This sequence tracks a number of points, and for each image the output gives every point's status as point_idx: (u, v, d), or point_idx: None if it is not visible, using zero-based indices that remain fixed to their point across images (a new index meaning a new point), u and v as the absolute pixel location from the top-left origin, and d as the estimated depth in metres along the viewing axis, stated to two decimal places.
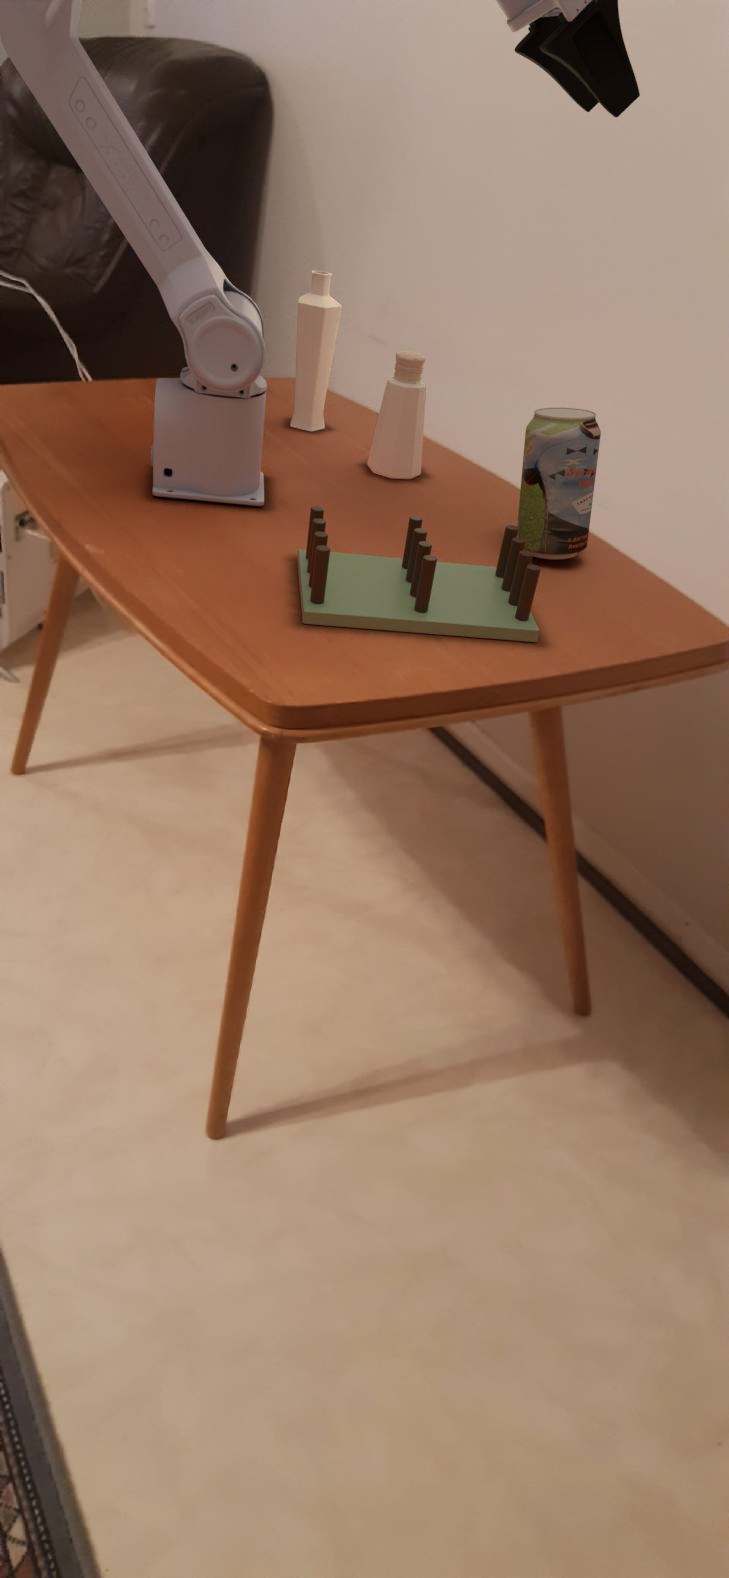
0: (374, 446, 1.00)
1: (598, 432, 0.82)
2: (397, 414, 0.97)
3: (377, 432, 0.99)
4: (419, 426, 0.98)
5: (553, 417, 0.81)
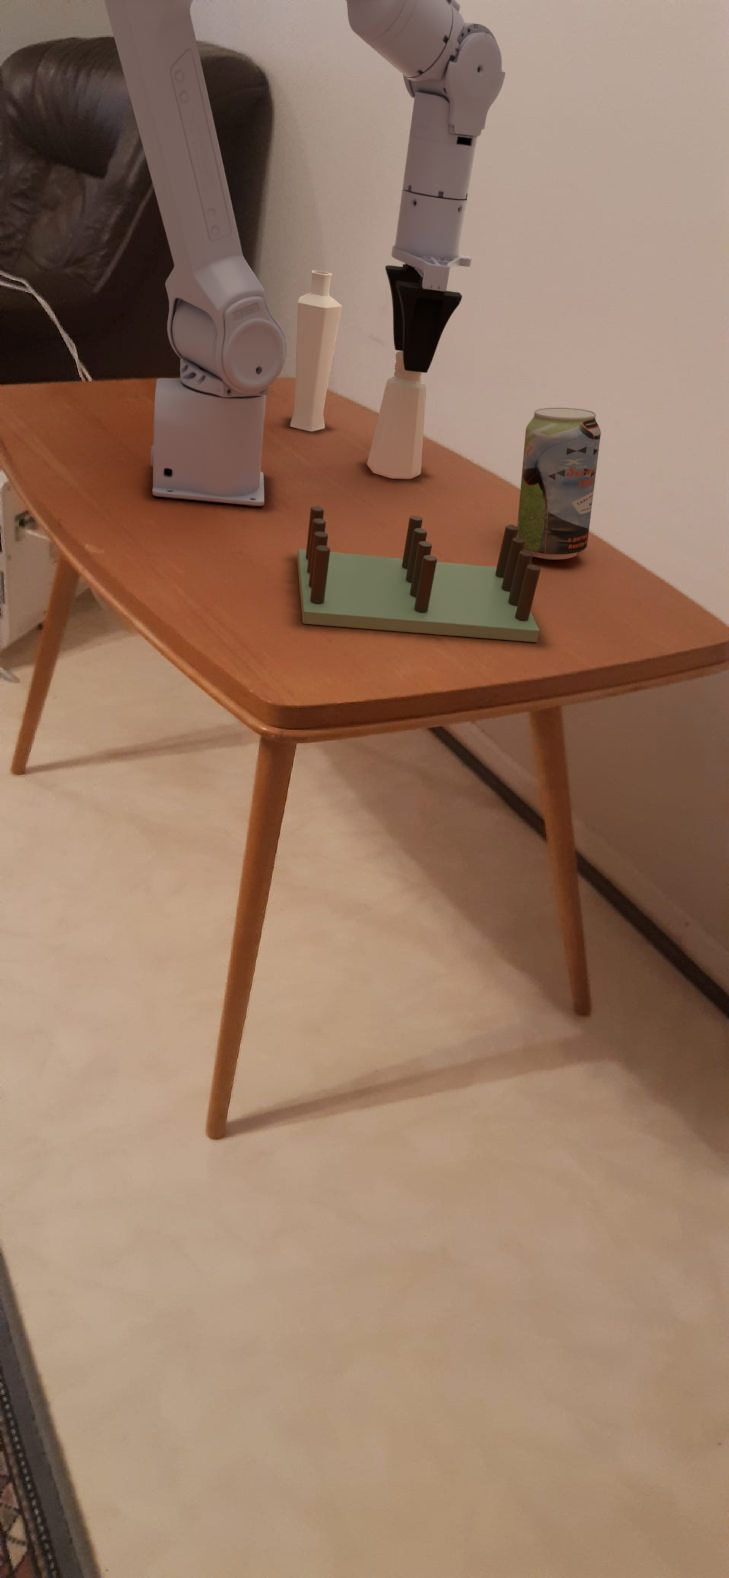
0: (374, 446, 1.00)
1: (598, 432, 0.82)
2: (397, 414, 0.97)
3: (377, 432, 0.99)
4: (419, 426, 0.98)
5: (553, 417, 0.81)
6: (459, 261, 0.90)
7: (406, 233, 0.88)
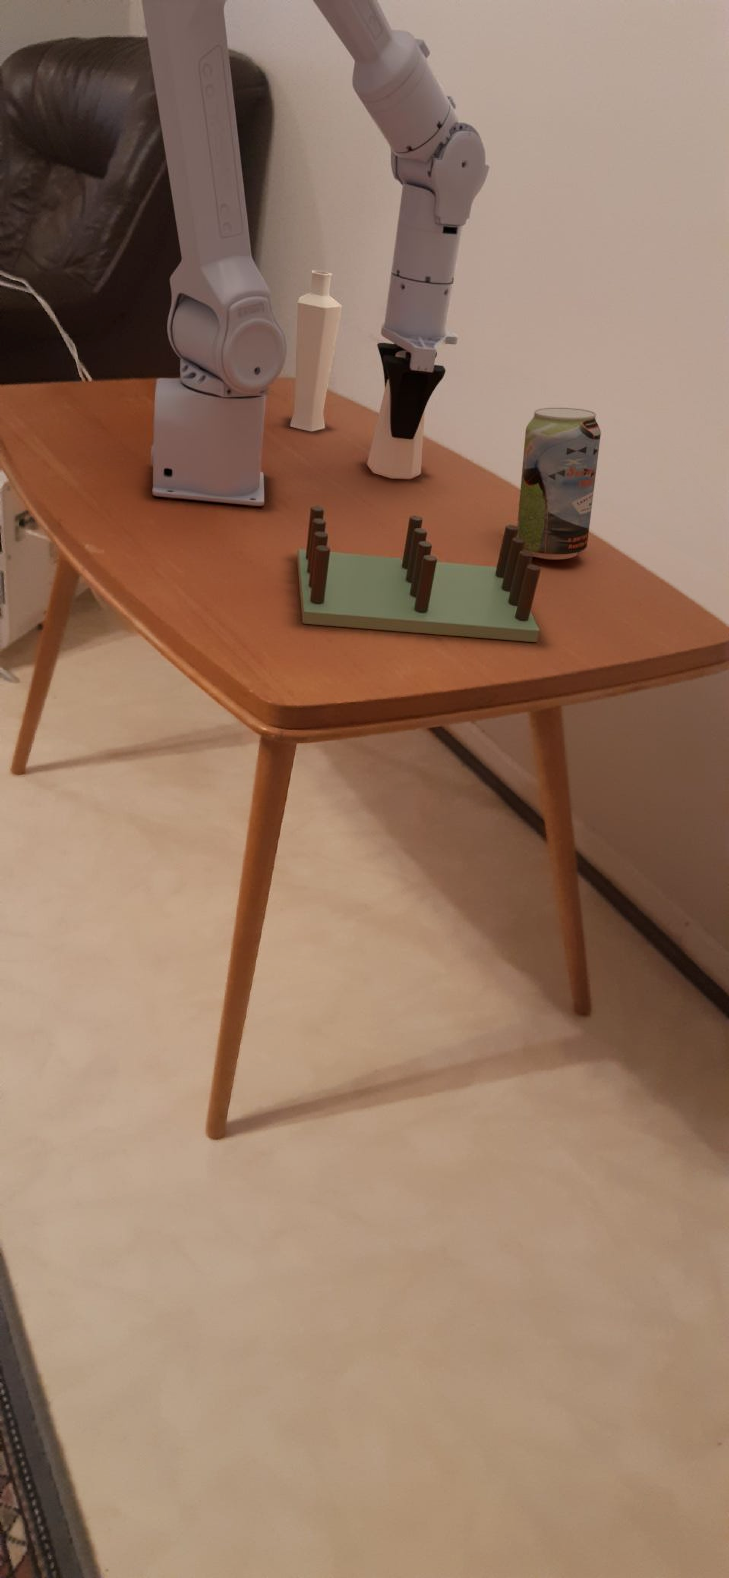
0: (374, 446, 1.00)
1: (598, 432, 0.82)
2: None
3: (377, 432, 0.99)
4: (419, 426, 0.98)
5: (553, 417, 0.81)
6: (446, 339, 0.94)
7: (394, 314, 0.92)
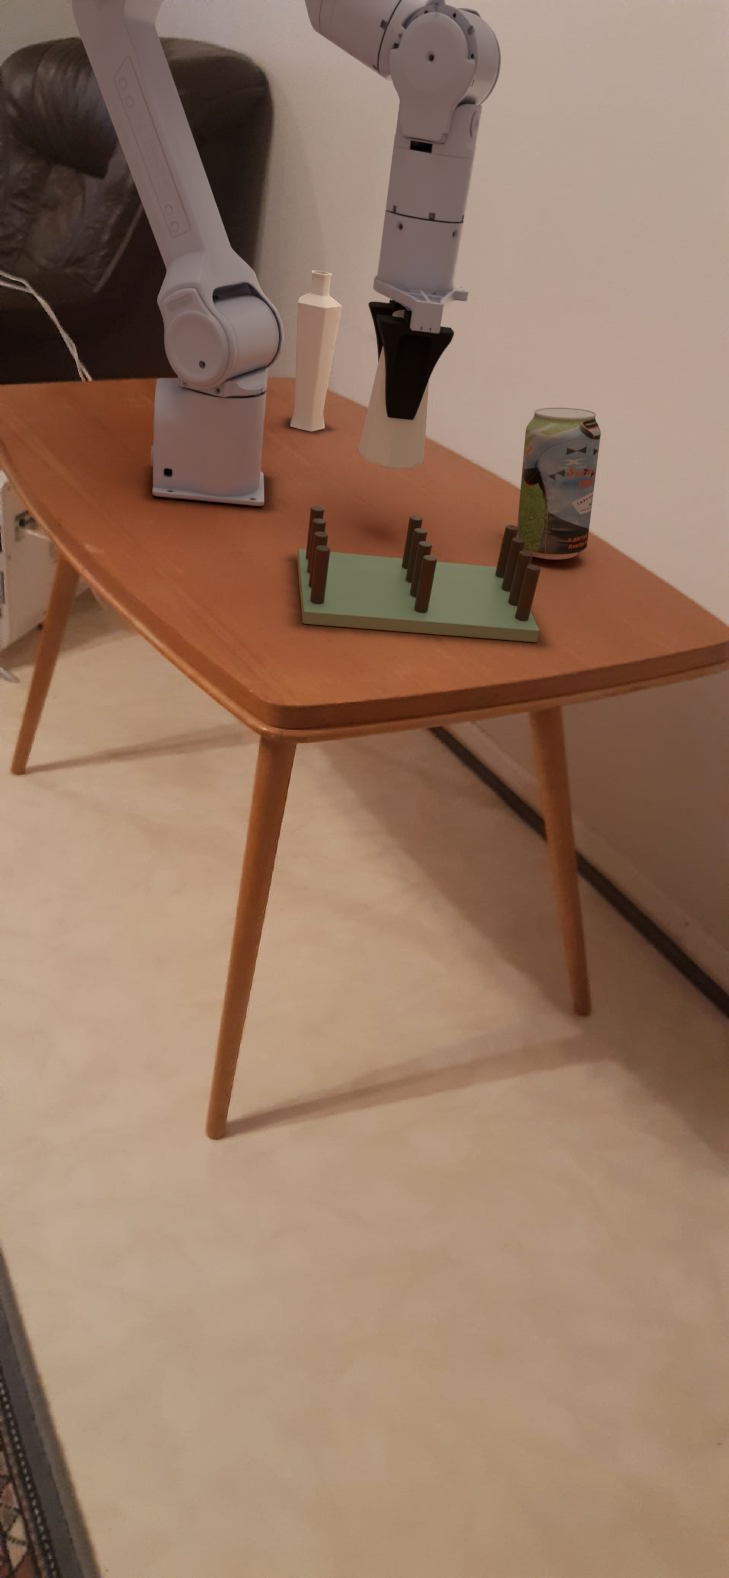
0: (367, 429, 0.81)
1: (598, 432, 0.82)
2: None
3: (370, 411, 0.81)
4: (422, 404, 0.80)
5: (553, 417, 0.81)
6: (454, 295, 0.75)
7: (390, 262, 0.73)
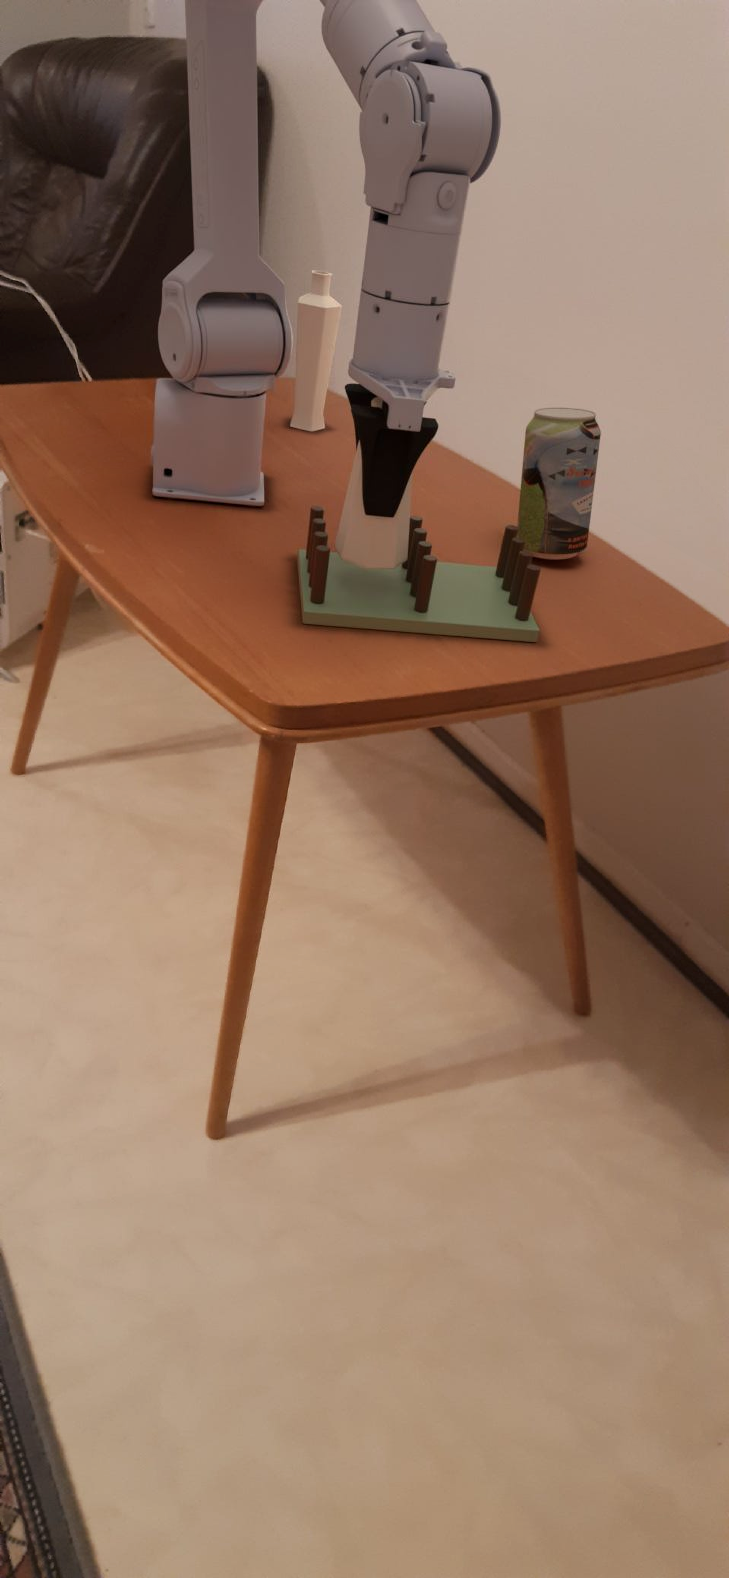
0: (343, 525, 0.73)
1: (598, 432, 0.82)
2: None
3: (347, 506, 0.72)
4: (404, 498, 0.71)
5: (553, 417, 0.81)
6: (439, 382, 0.67)
7: (366, 347, 0.65)
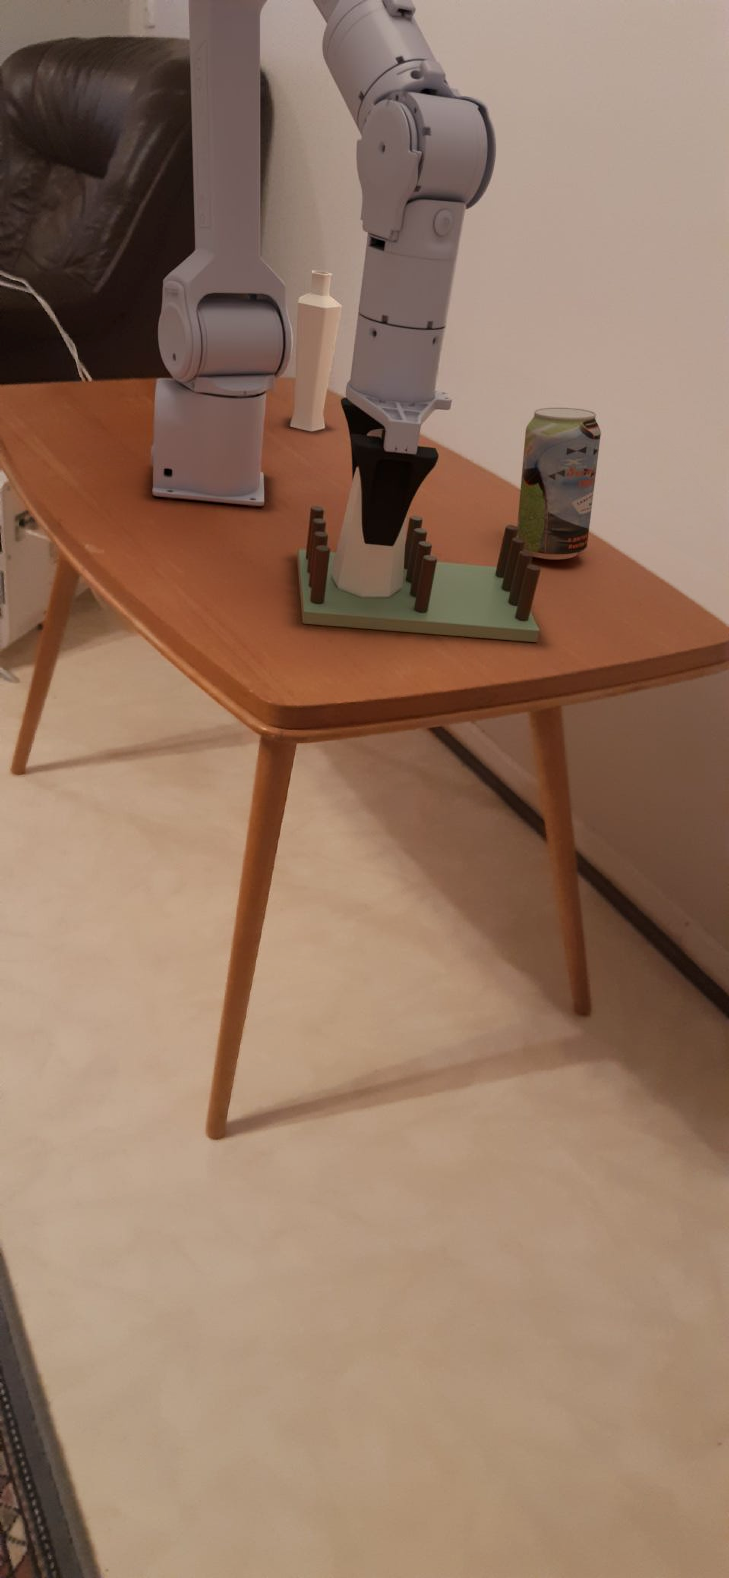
0: (340, 554, 0.74)
1: (598, 432, 0.82)
2: None
3: (343, 536, 0.73)
4: None
5: (553, 417, 0.81)
6: (435, 404, 0.68)
7: (363, 370, 0.66)
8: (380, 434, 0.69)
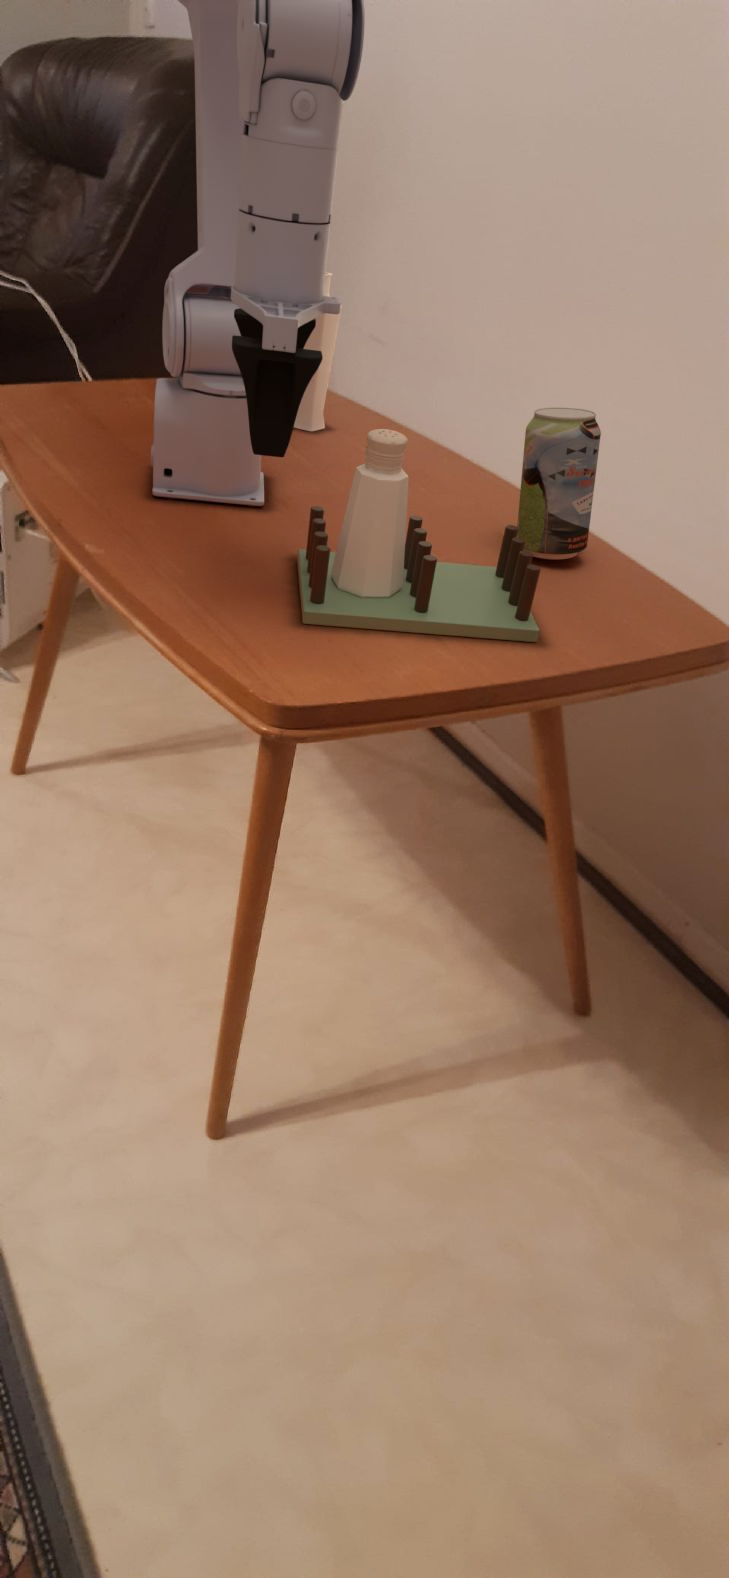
0: (340, 554, 0.74)
1: (598, 432, 0.82)
2: (370, 514, 0.71)
3: (343, 536, 0.73)
4: (400, 529, 0.73)
5: (553, 417, 0.81)
6: (323, 307, 0.65)
7: (244, 269, 0.63)
8: (380, 434, 0.69)
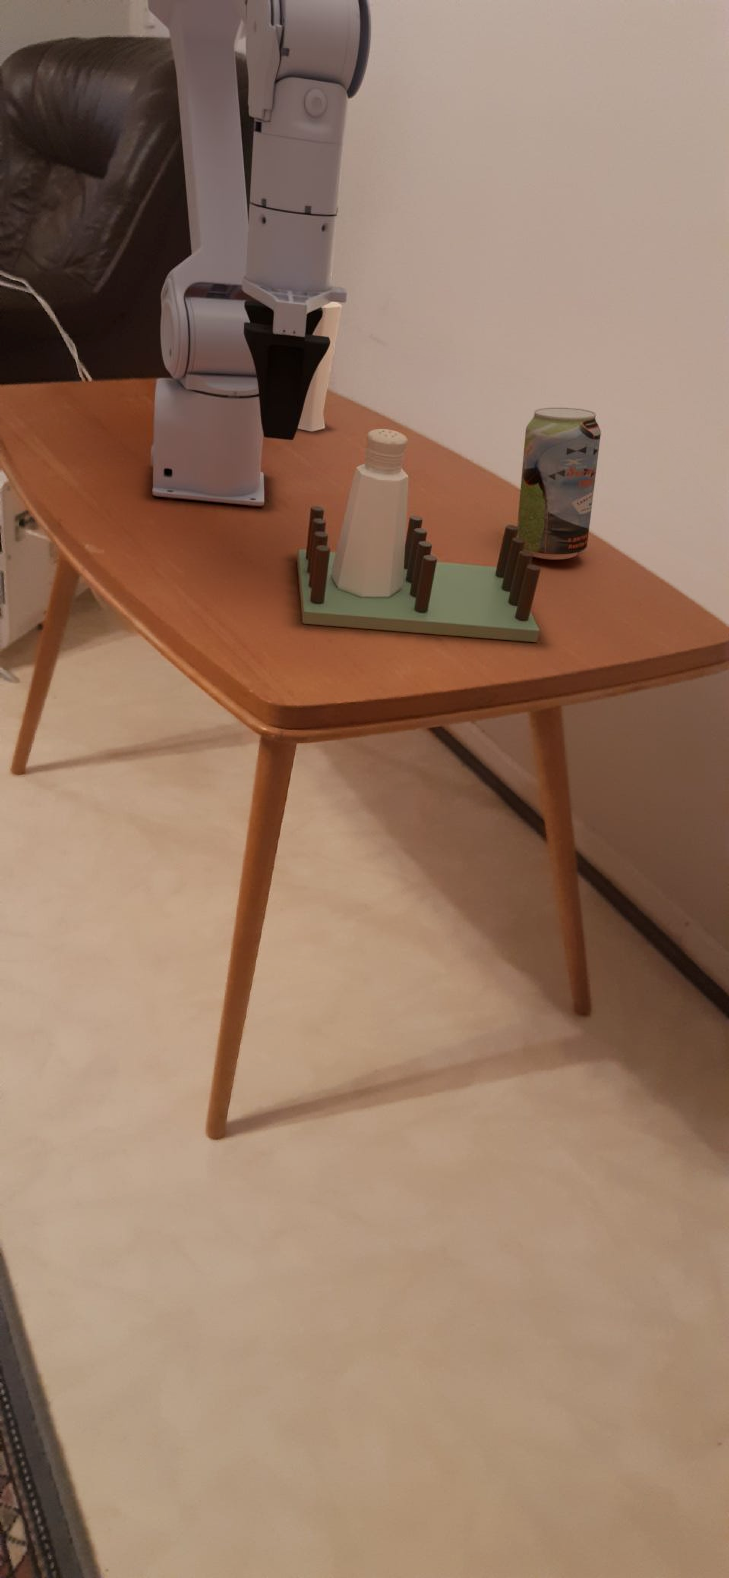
0: (340, 554, 0.74)
1: (598, 432, 0.82)
2: (370, 515, 0.71)
3: (343, 536, 0.73)
4: (400, 529, 0.73)
5: (553, 417, 0.81)
6: (330, 296, 0.69)
7: (255, 259, 0.67)
8: (380, 434, 0.69)
